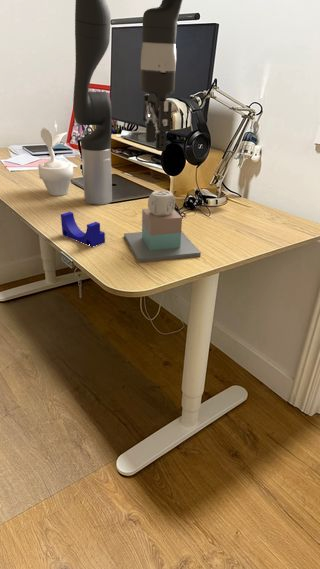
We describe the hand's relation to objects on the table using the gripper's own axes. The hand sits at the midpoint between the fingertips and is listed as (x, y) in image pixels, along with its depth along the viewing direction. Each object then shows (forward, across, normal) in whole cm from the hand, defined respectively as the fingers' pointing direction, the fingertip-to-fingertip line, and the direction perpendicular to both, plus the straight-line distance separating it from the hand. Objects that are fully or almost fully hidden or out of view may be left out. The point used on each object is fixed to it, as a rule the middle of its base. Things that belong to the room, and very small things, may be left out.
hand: (155, 146), depth 94 cm
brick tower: (+24, +4, +1) cm, 25 cm away
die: (+16, +3, +1) cm, 16 cm away
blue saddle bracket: (+25, -6, -18) cm, 31 cm away
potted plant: (+26, -48, -20) cm, 58 cm away
